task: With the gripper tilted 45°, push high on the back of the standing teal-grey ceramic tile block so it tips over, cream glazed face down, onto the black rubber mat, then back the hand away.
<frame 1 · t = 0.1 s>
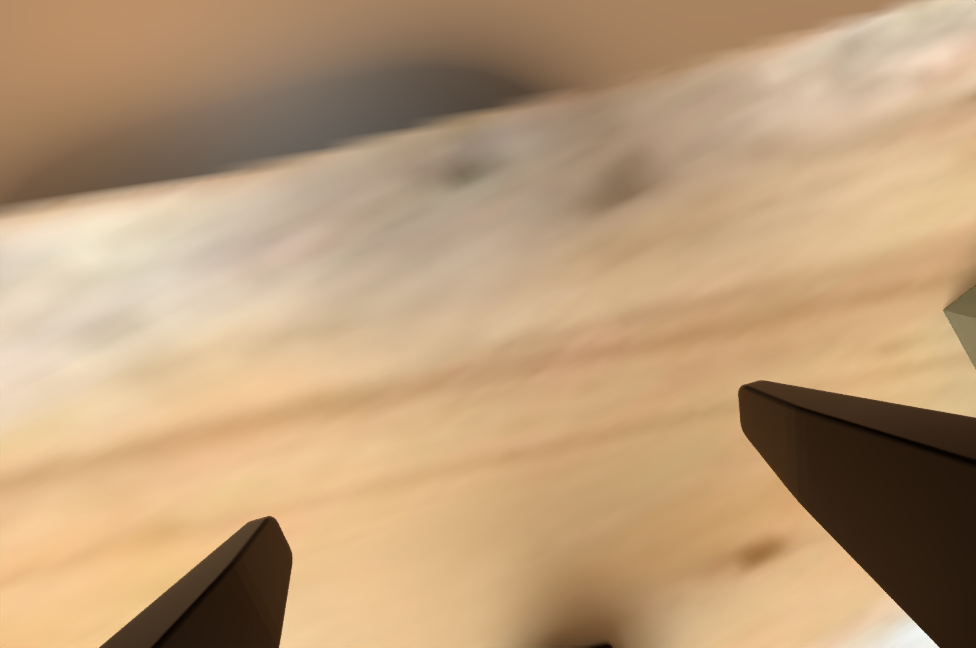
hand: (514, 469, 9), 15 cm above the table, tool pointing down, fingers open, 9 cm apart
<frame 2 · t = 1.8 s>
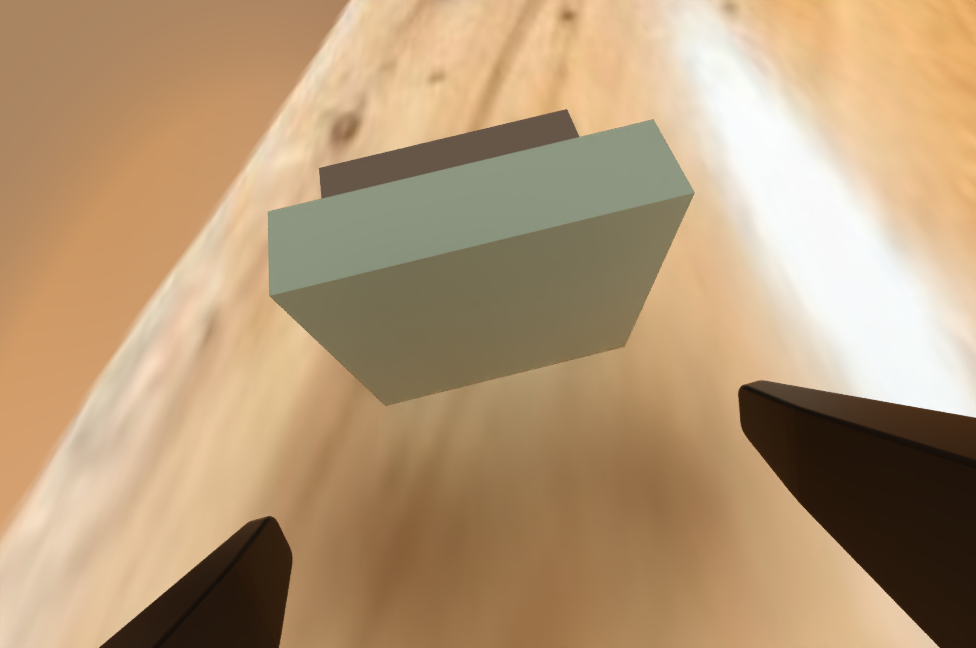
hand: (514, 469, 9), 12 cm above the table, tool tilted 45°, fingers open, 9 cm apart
glazed tile block: (498, 348, 23), on the table
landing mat: (464, 218, 27), on the table
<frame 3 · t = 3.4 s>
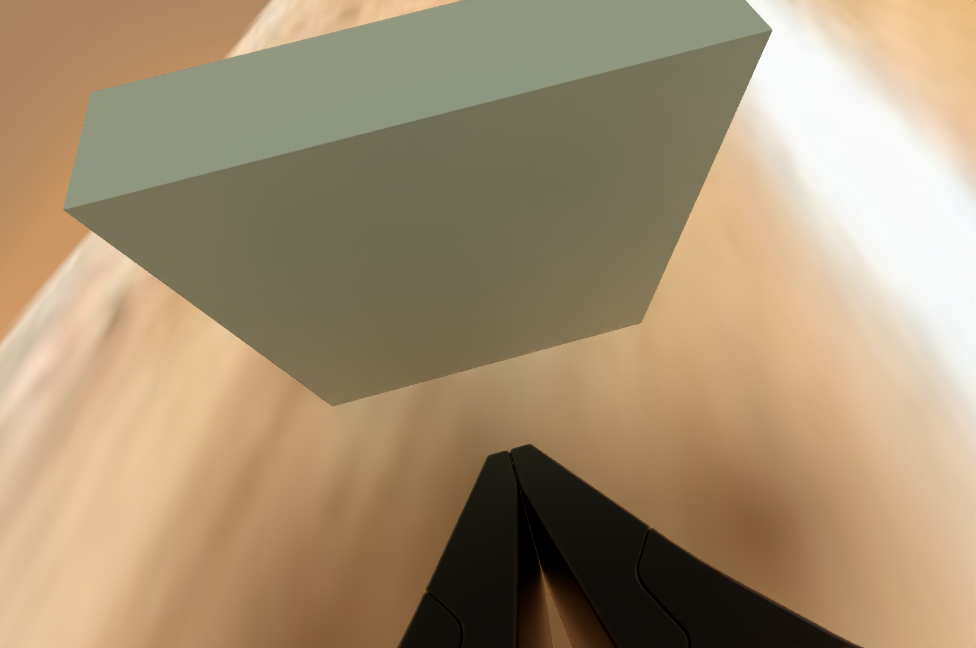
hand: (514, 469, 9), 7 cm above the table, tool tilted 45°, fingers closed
glazed tile block: (478, 330, 18), on the table
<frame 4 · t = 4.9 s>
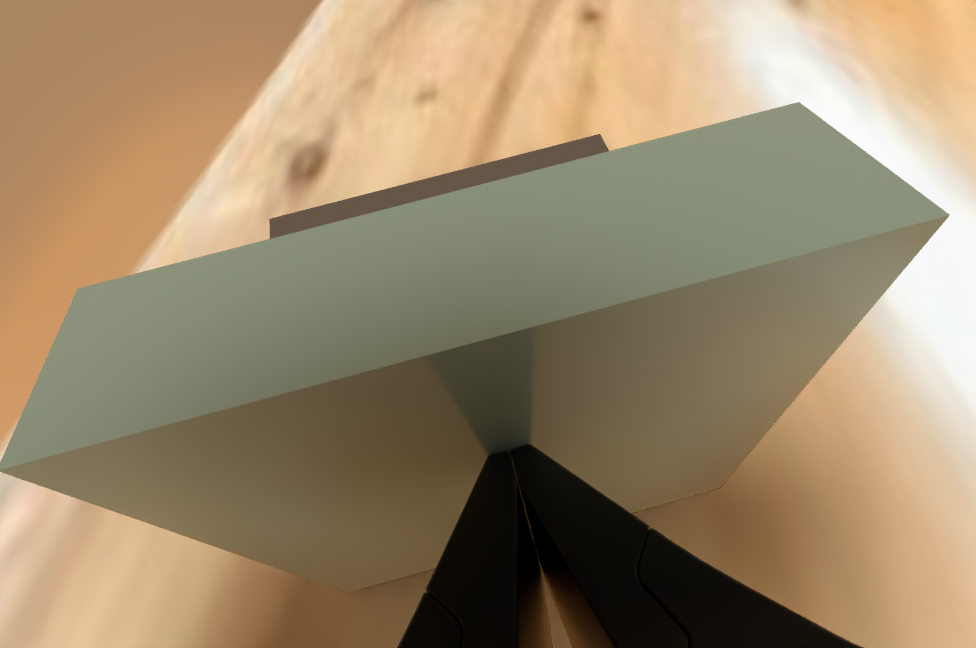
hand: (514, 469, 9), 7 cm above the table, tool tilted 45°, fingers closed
glazed tile block: (523, 492, 15), on the table, tilted 10°
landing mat: (466, 287, 19), on the table
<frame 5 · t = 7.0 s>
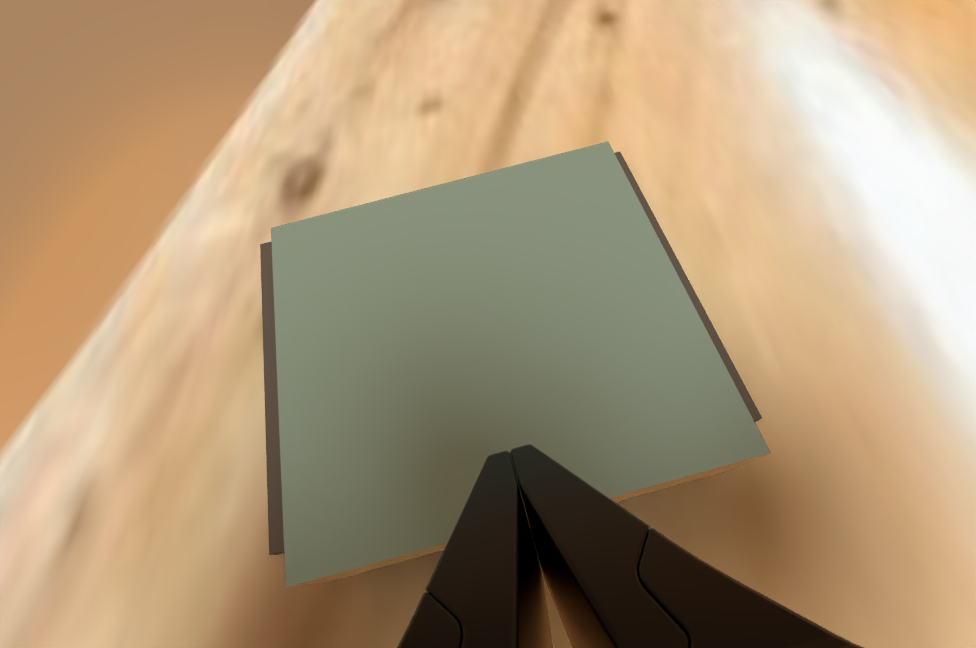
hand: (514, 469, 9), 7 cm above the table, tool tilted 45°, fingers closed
glazed tile block: (532, 522, 12), point 2 cm above the table, tilted 90°, touching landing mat
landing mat: (476, 324, 18), on the table
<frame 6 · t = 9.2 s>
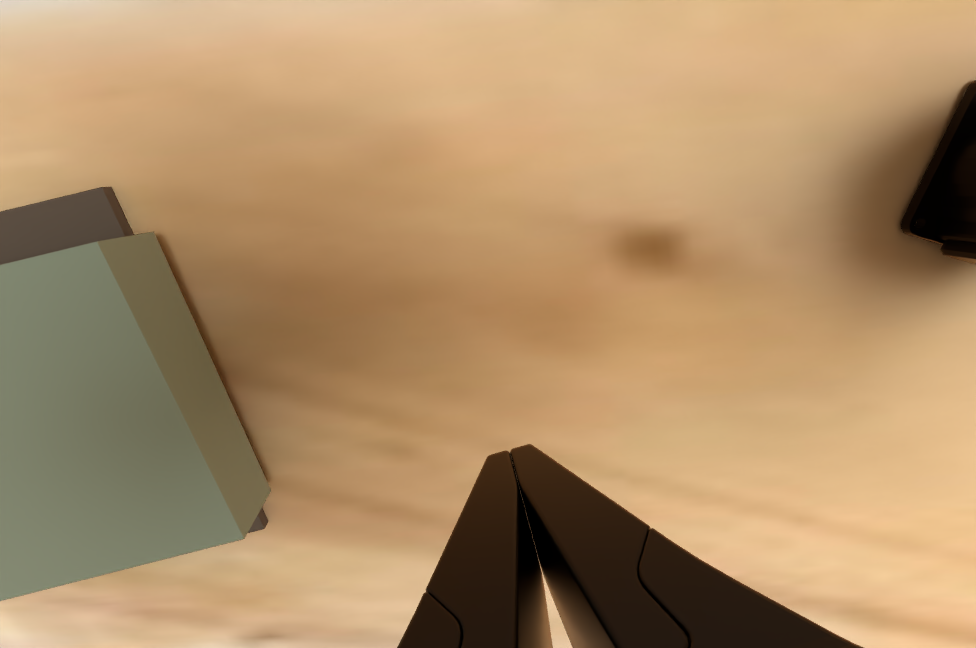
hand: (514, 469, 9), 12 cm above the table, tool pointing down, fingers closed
glazed tile block: (200, 388, 18), point 2 cm above the table, tilted 90°, touching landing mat
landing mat: (60, 409, 20), on the table
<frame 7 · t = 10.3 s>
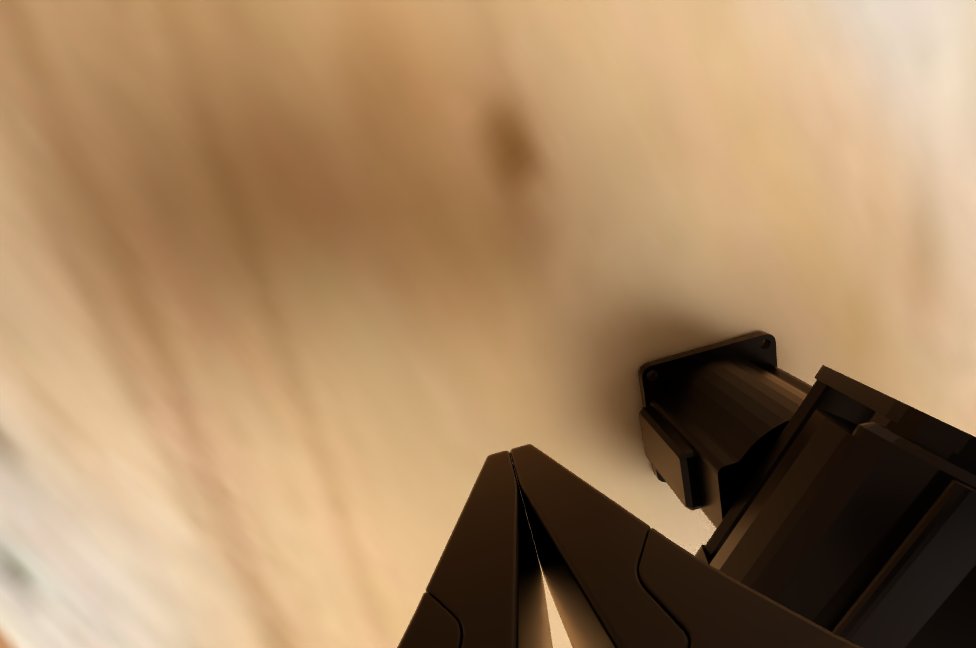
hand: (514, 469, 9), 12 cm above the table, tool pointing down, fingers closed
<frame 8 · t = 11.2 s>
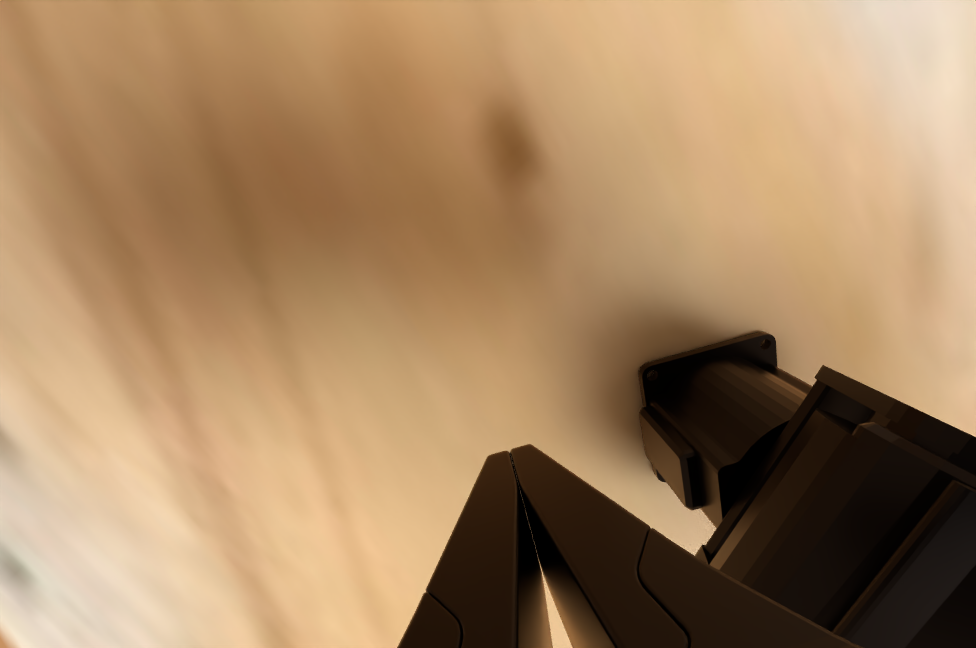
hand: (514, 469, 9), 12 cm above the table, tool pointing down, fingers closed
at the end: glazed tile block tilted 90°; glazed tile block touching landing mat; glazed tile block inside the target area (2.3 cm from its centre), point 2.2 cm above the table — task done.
